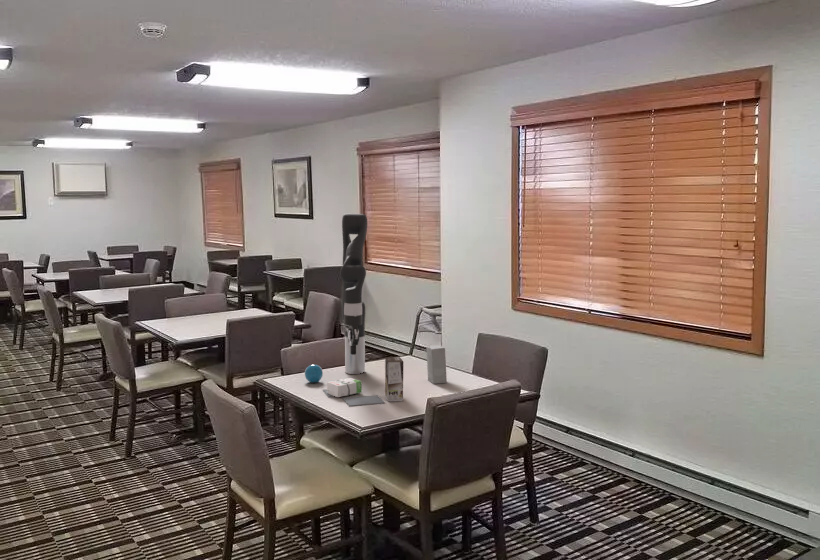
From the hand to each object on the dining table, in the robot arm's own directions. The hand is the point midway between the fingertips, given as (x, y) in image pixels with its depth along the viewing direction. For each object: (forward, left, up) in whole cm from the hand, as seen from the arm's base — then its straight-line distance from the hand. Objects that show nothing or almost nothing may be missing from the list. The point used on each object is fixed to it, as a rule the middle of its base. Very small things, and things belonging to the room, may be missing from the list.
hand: (353, 354), depth 286 cm
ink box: (+1, +1, -13) cm, 13 cm away
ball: (-20, -13, -16) cm, 29 cm away
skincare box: (-5, +39, -16) cm, 43 cm away
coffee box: (+15, +13, -16) cm, 26 cm away
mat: (+8, -2, -16) cm, 18 cm away
